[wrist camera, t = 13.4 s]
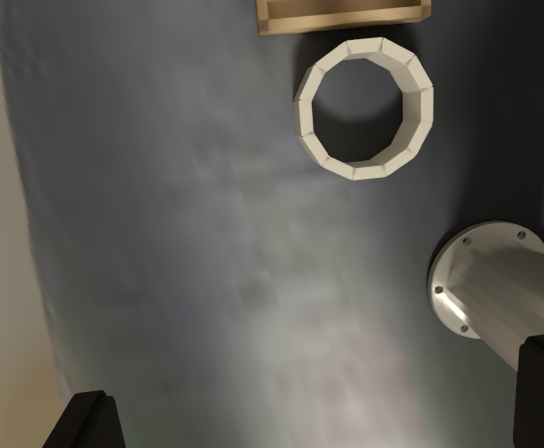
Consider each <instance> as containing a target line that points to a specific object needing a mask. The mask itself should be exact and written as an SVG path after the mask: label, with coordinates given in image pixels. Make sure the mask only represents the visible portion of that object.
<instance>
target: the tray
mask: <svg viewBox="0 0 544 448" xmlns="http://www.w3.org/2000/svg"><path fill="white" fill-rule="evenodd" d="M255 7H256V17H257V27H258V37H263V36H274V35H284V34H295V33H306V32H316V31H327V30H338V29H349V28H359V27H370V26H381V25H392V24H402V23H413V22H420V21H422V20H423V19H425V18H427V17H429V16H431V0H255Z"/></svg>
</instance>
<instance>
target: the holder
mask: <svg viewBox="0 0 544 448" xmlns="http://www.w3.org/2000/svg"><path fill="white" fill-rule="evenodd" d="M359 58H367V59H369V60H371V61H372V62H374V63H376V64H378V65H380V66H382V67H384V68H386V69H388V70H389V71H390V73H391V74H392V76H393V78H394V79H395V81H396V83H397V84H398V86H399V88H400V90H401V91H402V93H403V122H402V124H401V126H400V127H399V129H398V131H397V133H396V135H395V137H394V139H393V141H392V143H391V145H390V146H388V147H387V148H386V149H384V150H383V151H381V152H380V153H379V154H377V155H376V156H374V157H373V158H371V159H370V160H366V161H357V162H348V163H343V162H341V161H338V160H336V159H334V158H332V157H330V156H329V155H328V154H327V152H326V151H325V149H324V148H323V146H322V145H321V143H320V142H319V140H318V139H317V137H316V136H315V134H314V133H313V119H312V105H311V101H312V99H313V97H314V95H315V93H316V90H317V88H318V86H319V84H320V82H321V80H322V77H323V75H324V73H325V72H326V71H328V70H329V69H330V68H332V67H333V66H334V65H336V64H337V63H339V62H340V61H341V60H349V59H359ZM431 86H433V85H432V83H431V81H430V80H429V78H428V76H427V74H426V73H425V71H424V69H423V67H422V65H421V64H420V62H419V60H418V58H417V57H416V55H414V53H412V52H410V51H408V50H406V49H404V48H403V47H401V46H399V45H397V44H395V43H393V42H391V41H389V40H388V39H386V38H382V37H379V38H369V39H358V40H348V41H345V42H343V43H342V44H341V45H339V46H338V47H336V48H335V49H334V50H332V51H331V52H329V53H328V54H327V55H325V56H324V57H323V58H321V59H320V60H319V61H317V62H316V63H315V64H313V65H312V66H311V67H309V68H308V70H306V73H305V75H304V77H303V79H302V82H301V84H300V86H299V88H298V91H297V93H296V95H295V97H294V100H293V101H295V102H293V110H294V122H295V134H297V135H296V136H297V138H298V139H299V141H300V142H301V143H302V145H303V146H304V148H305V149H306V151H307V152H308V154H309V155H310V157H311V158H312V160H313V161H314V162H316V163H317V164H319V165H320V166H322V167H324V168H326V169H328V170H331V171H333V172H335V173H337V174H339V175H341V176H344V177H346V178H348V179H350V180H361V179H370V178H379V177H386V176H388V175H390V174H391V173H392V172H394V171H395V170H397V169H398V168H400V167H401V166H402V165H404V164H405V163H407V162H408V161H410V160H411V159H412V158H414V157H415V156H414V155H417V153H418V151H419V149H420V147H421V145H422V143H423V141H424V140H425V138H426V136H427V134H428V132H429V130H430V128H431V126H432V124H431V123H433V87H431Z"/></svg>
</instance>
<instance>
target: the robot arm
mask: <svg viewBox="0 0 544 448" xmlns="http://www.w3.org/2000/svg"><path fill="white" fill-rule="evenodd" d="M427 291H428V297H429V302H430V304H431V307H432V309H433V311H434V312H435V314H436V315H437V317H438V318H439V319H440V320H441V321H442V322H443V323H444V325H445V326H447V327H448V328H449V329H451V330H452V331H453V332H455V333H457V334H459V335H462V336H466V337H470V338H479V339H483V340H484V341H485V342H486V343H487V344H488V345H489V346H490V347H491V348H492V349H493V350H494V351H495V352H496V353H497V354H499V355H500V356H501V357H502V358H503V359H504V360H505V361H506V362H507V363H508V364H509V365H510V366H511V367H512V368H513V369H514V370H516V371H517V386H516V400H515V414H514V429H513V443H514V447H515V448H544V243H543V242H542V241H541V239H540V238H539V237H538V236H537V235H536V234H534V233H533V232H532V231H530V230H529V229H527V228H525V227H522V226H520V225H518V224H514V223H511V222H507V221H487V222H482V223H479V224H475V225H472V226H470V227H468V228H466V229H464V230H462V231H460V232H459V233H458V234H456V235H455V236H454V237H452V238H451V239H450V240H449V241H448V242H447V243H446V244H445V245H444V246H443V247H442V249H441V250H440V252H439V253H438V254H437V256H436V257H435V260H434V262H433V264H432V266H431V269H430V273H429V277H428V287H427ZM42 448H126V446H125V442H124V438H123V433H122V429H121V425H120V420H119V416H118V412H117V407H116V403H115V400H114V398H113V396H106V393H105V392H104V391H103V390H98V391H90V392H82V393H77V394H75V395H74V396H73V397H72V399H71V400H70V402H69V404H68V405H67V407H66V409H65V410H64V412H63V414H62V415H61V417H60V419H59V421H58V422H57V424H56V426H55V427H54V429H53V430H52V432H51V434H50V435H49V437H48V439H47V440H46V442H45V444H44V445H43V447H42Z"/></svg>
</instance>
